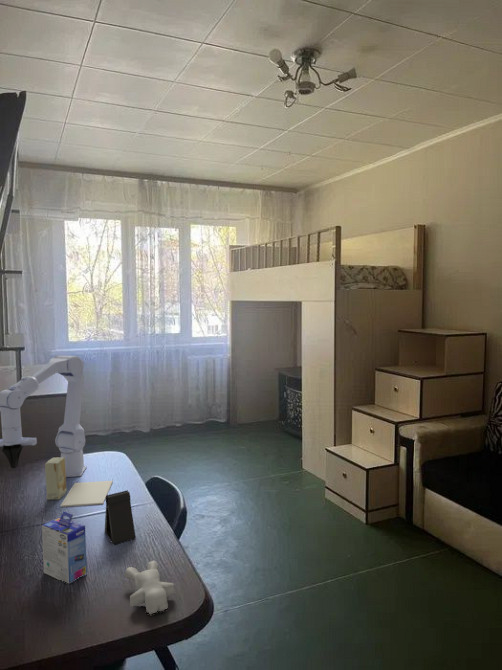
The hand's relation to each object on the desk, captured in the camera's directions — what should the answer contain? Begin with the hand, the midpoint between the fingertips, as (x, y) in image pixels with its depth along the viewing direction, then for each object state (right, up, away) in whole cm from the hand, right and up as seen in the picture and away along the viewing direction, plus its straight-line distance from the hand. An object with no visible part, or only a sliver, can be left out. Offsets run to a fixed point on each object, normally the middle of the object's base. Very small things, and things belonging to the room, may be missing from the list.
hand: (14, 467), depth 160 cm
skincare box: (+13, -10, +2) cm, 17 cm away
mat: (+23, -10, +3) cm, 25 cm away
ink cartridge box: (+33, -14, -43) cm, 56 cm away
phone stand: (+41, -12, -25) cm, 50 cm away
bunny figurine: (+55, -15, -52) cm, 78 cm away
